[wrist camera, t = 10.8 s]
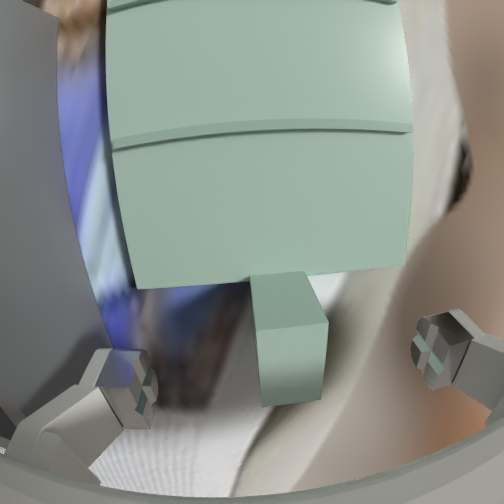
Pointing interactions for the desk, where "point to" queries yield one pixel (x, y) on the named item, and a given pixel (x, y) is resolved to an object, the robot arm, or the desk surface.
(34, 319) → the tub
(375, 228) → the lid
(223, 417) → the desk surface
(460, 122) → the desk surface
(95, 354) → the robot arm
